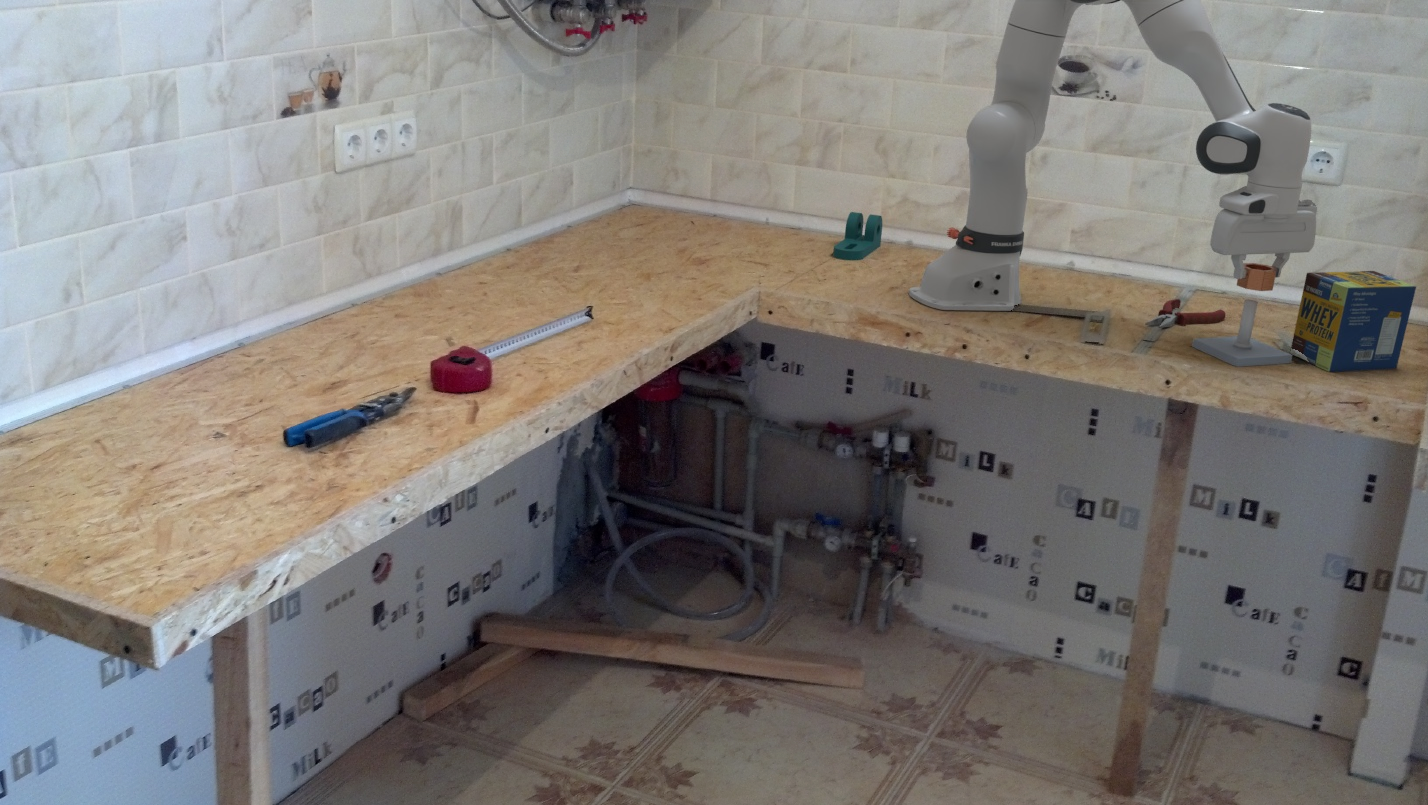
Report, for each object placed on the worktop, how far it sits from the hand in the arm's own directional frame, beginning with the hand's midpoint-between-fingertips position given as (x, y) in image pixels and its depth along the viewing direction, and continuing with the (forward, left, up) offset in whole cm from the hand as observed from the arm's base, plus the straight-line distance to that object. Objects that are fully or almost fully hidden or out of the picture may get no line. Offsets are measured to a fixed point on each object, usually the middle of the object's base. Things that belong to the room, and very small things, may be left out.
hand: (1256, 277), depth 241 cm
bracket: (-37, +83, -15) cm, 92 cm away
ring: (0, 0, -2) cm, 2 cm away
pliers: (+3, +23, -15) cm, 28 cm away
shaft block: (0, 0, -14) cm, 14 cm away
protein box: (+17, -7, -15) cm, 23 cm away
